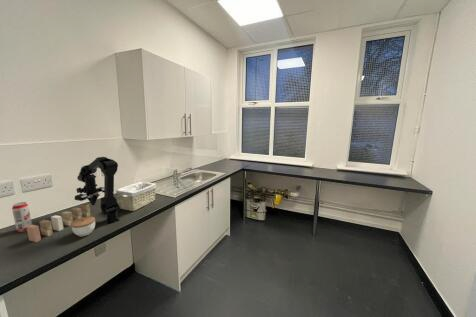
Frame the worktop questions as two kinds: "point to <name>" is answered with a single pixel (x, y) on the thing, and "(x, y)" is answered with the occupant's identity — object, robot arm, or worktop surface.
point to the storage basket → (136, 195)
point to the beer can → (21, 216)
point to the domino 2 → (57, 222)
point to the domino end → (33, 233)
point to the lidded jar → (83, 226)
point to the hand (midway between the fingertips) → (93, 205)
